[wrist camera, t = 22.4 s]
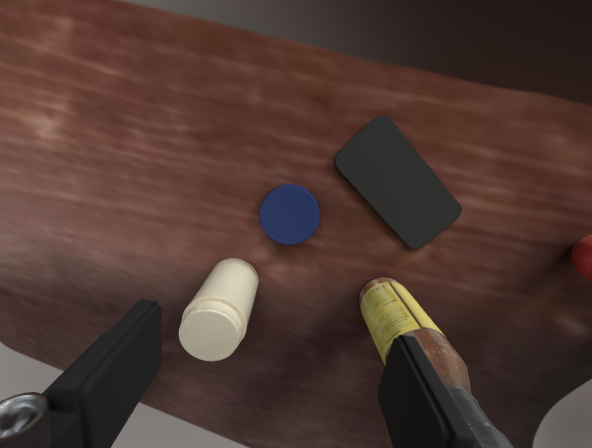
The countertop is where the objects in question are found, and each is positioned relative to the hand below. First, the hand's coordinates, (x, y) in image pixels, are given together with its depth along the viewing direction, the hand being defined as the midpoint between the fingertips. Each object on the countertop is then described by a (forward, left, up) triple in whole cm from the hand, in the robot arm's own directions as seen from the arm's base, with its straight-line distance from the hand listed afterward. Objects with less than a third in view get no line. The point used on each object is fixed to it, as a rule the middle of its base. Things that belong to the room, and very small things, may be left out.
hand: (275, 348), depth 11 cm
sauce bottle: (-16, -3, -22) cm, 28 cm away
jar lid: (0, 0, -21) cm, 21 cm away
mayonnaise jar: (-3, +11, -22) cm, 25 cm away
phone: (-5, -12, -22) cm, 26 cm away
